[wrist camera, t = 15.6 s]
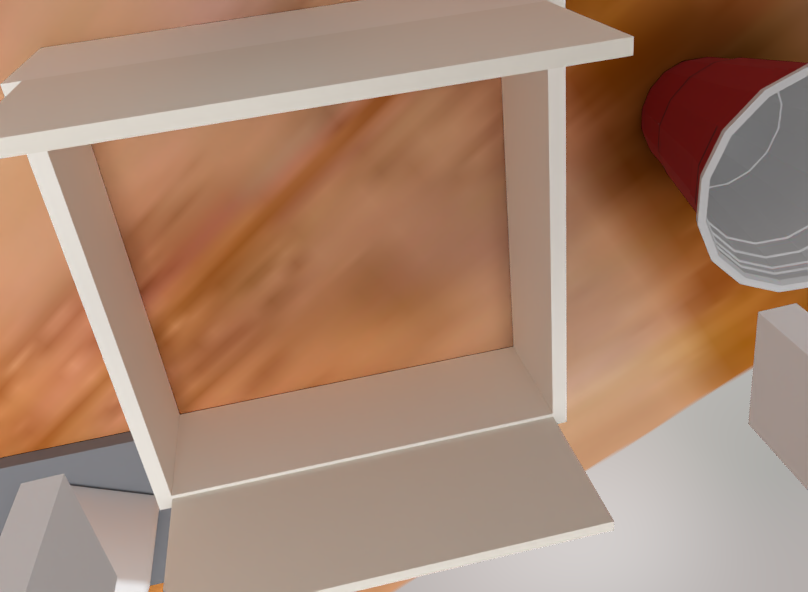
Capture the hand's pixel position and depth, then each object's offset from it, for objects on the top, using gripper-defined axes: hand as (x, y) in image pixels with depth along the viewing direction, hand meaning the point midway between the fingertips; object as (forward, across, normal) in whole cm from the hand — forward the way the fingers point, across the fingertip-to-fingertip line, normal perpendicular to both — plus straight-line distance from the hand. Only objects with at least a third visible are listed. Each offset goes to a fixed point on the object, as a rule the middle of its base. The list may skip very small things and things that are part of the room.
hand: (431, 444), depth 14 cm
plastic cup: (+28, -20, +5) cm, 35 cm away
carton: (+28, +2, +7) cm, 29 cm away
